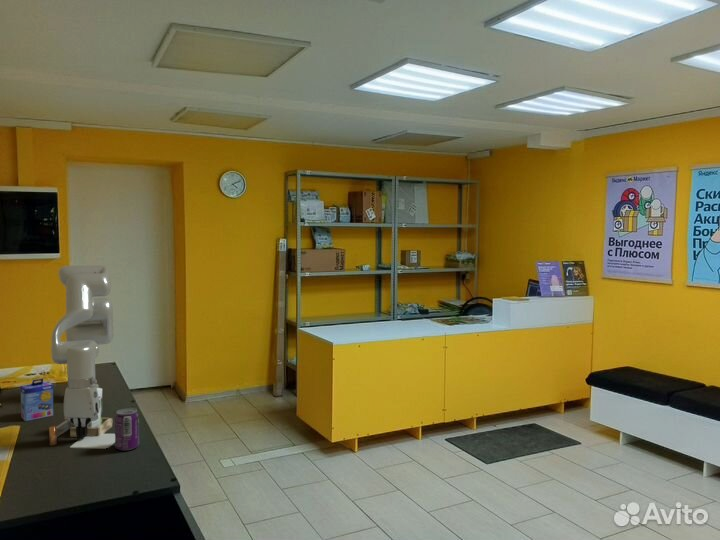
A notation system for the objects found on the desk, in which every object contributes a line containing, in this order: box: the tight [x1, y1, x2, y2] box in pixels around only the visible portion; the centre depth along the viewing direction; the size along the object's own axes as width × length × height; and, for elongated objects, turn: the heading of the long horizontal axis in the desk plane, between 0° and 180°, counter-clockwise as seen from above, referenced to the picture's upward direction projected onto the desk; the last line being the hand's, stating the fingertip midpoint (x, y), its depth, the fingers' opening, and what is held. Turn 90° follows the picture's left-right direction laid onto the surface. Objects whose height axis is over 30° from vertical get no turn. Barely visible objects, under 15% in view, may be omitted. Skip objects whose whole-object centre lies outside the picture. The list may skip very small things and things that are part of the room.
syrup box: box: [81, 387, 103, 428], centre depth 197 cm, size 6×6×14 cm
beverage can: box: [114, 407, 140, 452], centre depth 183 cm, size 7×7×12 cm
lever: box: [48, 420, 75, 446], centre depth 193 cm, size 19×2×6 cm, turn 179°
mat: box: [69, 433, 115, 450], centre depth 188 cm, size 12×12×1 cm
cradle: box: [69, 417, 114, 438], centre depth 197 cm, size 11×10×3 cm
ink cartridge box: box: [20, 378, 54, 422], centre depth 211 cm, size 10×6×14 cm, turn 137°
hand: (81, 437), depth 189 cm, fingers closed
